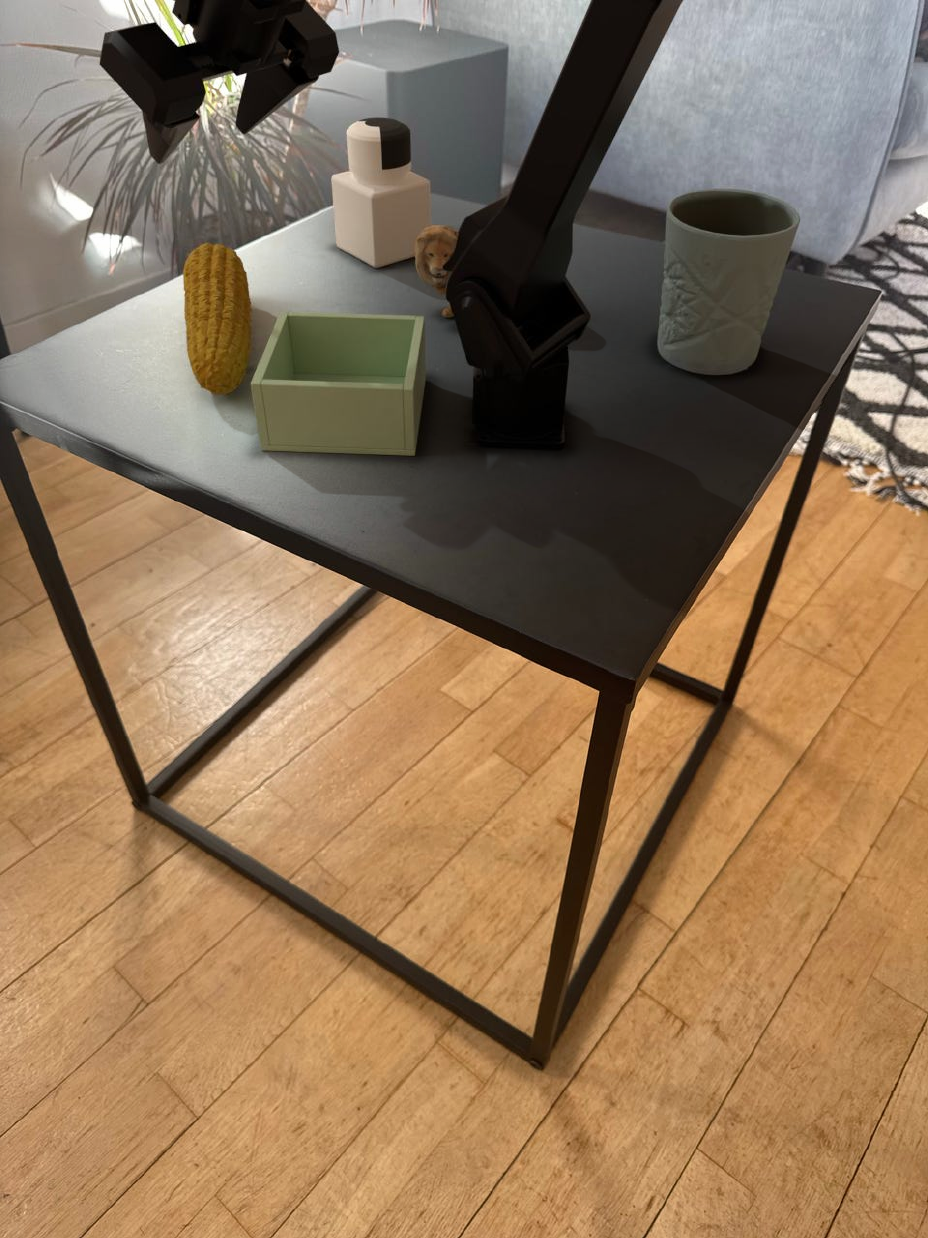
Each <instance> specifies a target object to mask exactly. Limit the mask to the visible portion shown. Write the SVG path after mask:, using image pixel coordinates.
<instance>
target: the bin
mask: <svg viewBox="0 0 928 1238" xmlns="http://www.w3.org/2000/svg"><path fill="white" fill-rule="evenodd" d="M263 350H264V351H263V353H262V355H261V357H260V361H259V362H258V365H257V366H256V367H257V368H256V371H255V372H254V375H253V377H252V379H251V382H250V388H251V395H252V401H253V407H254V414H255V420H256V428H257V433H258V441H259V444H260V450H261V451H266V452H267V451H268V452H269V451H270V452H271V451H272V452H296V453H297V452H299V453H323V454H324V453H325V454H350V455H351V454H353V455H356V454H357V455H381V456H382V455H383V456H406V457H407V456H408V457H409V456H410V457H411V456H412V457H414V456H416V449H417V443H418V437H419V430H420V429H419V428H420V422H421V413H422V409H423V400H424V394H425V386H426V381H427V373H426V370H427V369H426V367H427V366H426V365H427V364H426V317H425V316H424V315H405V314H404V315H402V314H401V315H400V314H371V313H344V312H343V313H342V312H341V313H340V312H338V313H337V312H313V311H312V312H310V311H304V312H303V311H282V310H281V311H280V312H279V314H278V316H277V319H276V321H275V323H274V326H273V328H272V331H271V333H270V335H269V338H268V340H267V343H266V346H265V348H264V349H263Z"/></svg>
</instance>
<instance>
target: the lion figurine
mask: <svg viewBox="0 0 928 1238" xmlns="http://www.w3.org/2000/svg"><path fill="white" fill-rule="evenodd" d="M458 233H459V230H458V231H457V230H455V229H454V227H452V226H447V225H442V224H436V225H435V224H431V227H426V228H425V229H424V230H423V231H422V232H421V233H420V235H419V236H418V238H417V241H416V245H415V248H414V255H415V257H414V258H415V261H414V262H415V269H416V271H417V274H418V276H419V279H420V280H421V281H422V282H423V283H425V284H428V285H431V286H432V288H433V289H435V291H436V292H437V293H438V294H439V295H445V288H446V283H447V278H448V276H449V274H450V272H451V271H445V270H443V265H444V264H445V263H446V262H447V261H448V260H449V259H450V258H451V256H452V254H453V252H454V250H455V247H456V243H457V238H458ZM442 316H443V317H444V318H445V319H446V318H454V315H453V313H452V309H451V306H450V303H449V302H448V307H446V308H444V309H443V311H442Z"/></svg>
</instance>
